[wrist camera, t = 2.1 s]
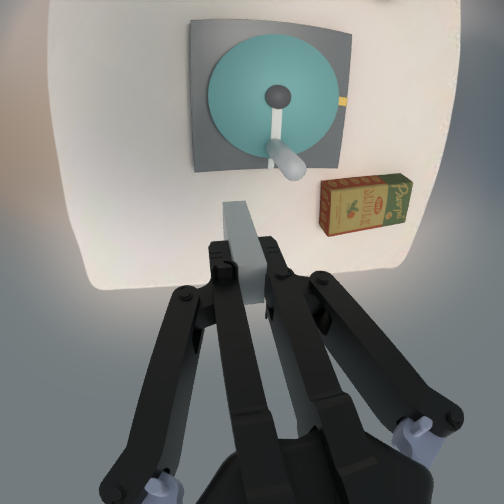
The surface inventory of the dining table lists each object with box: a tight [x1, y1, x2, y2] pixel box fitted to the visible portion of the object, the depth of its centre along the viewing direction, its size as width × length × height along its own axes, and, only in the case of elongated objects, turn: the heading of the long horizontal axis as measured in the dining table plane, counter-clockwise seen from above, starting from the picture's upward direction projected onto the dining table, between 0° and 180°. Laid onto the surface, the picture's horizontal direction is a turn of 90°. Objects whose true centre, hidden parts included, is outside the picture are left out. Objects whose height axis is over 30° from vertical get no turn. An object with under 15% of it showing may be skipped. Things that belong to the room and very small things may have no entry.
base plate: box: [190, 19, 352, 172], centre depth 31 cm, size 20×20×2 cm
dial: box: [208, 34, 339, 181], centre depth 26 cm, size 16×16×10 cm
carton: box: [319, 173, 413, 237], centre depth 43 cm, size 8×16×4 cm, turn 95°
